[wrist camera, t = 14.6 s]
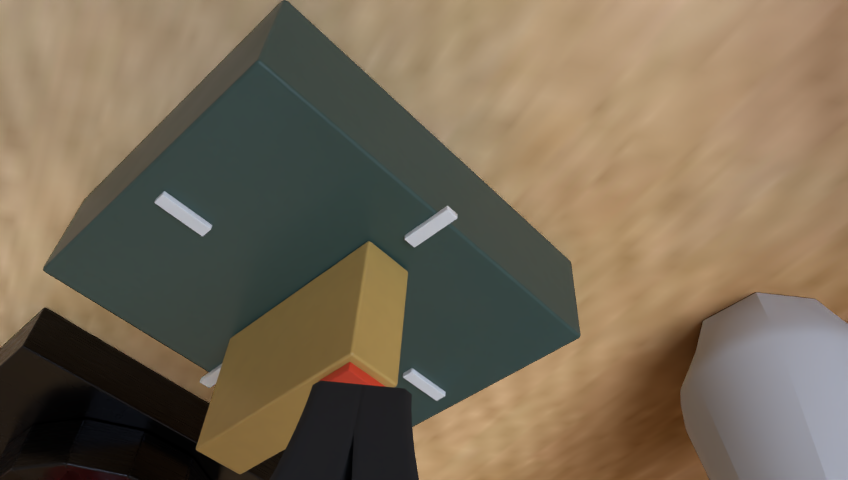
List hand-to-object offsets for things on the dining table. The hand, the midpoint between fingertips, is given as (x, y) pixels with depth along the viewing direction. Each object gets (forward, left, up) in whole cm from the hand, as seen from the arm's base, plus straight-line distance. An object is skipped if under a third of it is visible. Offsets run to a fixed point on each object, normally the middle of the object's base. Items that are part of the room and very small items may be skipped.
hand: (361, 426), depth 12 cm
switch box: (+4, -19, -10) cm, 22 cm away
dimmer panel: (+2, -5, -10) cm, 12 cm away
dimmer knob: (+2, -5, -7) cm, 9 cm away
